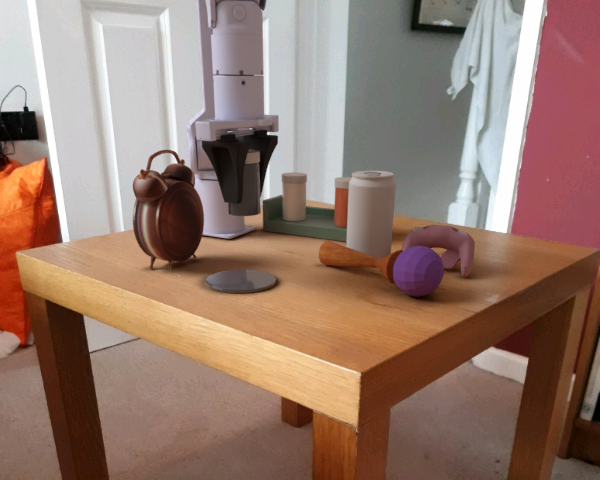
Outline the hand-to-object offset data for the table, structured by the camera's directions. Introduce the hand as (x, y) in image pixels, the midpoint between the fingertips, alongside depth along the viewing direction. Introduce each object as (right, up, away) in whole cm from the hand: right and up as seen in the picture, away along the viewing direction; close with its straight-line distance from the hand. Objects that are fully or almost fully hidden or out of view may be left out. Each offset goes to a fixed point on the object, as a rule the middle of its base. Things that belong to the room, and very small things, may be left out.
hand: (242, 199), depth 78 cm
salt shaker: (+6, +6, +30) cm, 31 cm away
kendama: (+17, -9, +4) cm, 20 cm away
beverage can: (+17, -5, +13) cm, 22 cm away
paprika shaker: (+15, +4, +26) cm, 30 cm away
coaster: (-1, -9, +4) cm, 10 cm away
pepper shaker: (0, -1, +1) cm, 2 cm away
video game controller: (+26, -7, +9) cm, 28 cm away
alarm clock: (-11, -6, +11) cm, 16 cm away
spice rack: (+11, +4, +29) cm, 32 cm away
